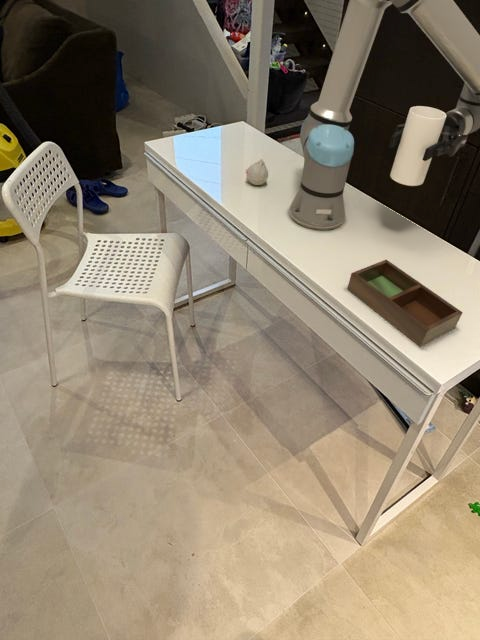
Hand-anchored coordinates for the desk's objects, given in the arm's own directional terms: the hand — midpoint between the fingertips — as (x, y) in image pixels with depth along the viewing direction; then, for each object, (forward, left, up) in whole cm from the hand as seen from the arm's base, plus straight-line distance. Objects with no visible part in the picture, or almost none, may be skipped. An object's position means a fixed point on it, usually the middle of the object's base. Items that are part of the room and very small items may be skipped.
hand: (408, 148), depth 113 cm
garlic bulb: (-15, -41, -26) cm, 50 cm away
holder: (+26, +9, -25) cm, 37 cm away
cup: (-4, +2, -9) cm, 10 cm away
